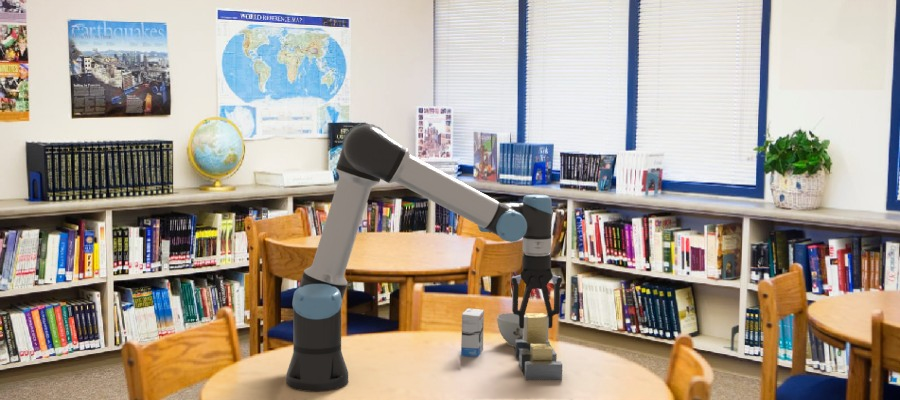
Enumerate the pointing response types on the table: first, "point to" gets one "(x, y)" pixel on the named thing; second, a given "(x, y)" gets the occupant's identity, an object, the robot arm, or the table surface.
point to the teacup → (510, 328)
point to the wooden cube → (541, 352)
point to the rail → (537, 364)
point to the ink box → (472, 332)
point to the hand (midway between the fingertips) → (535, 339)
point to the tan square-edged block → (536, 328)
